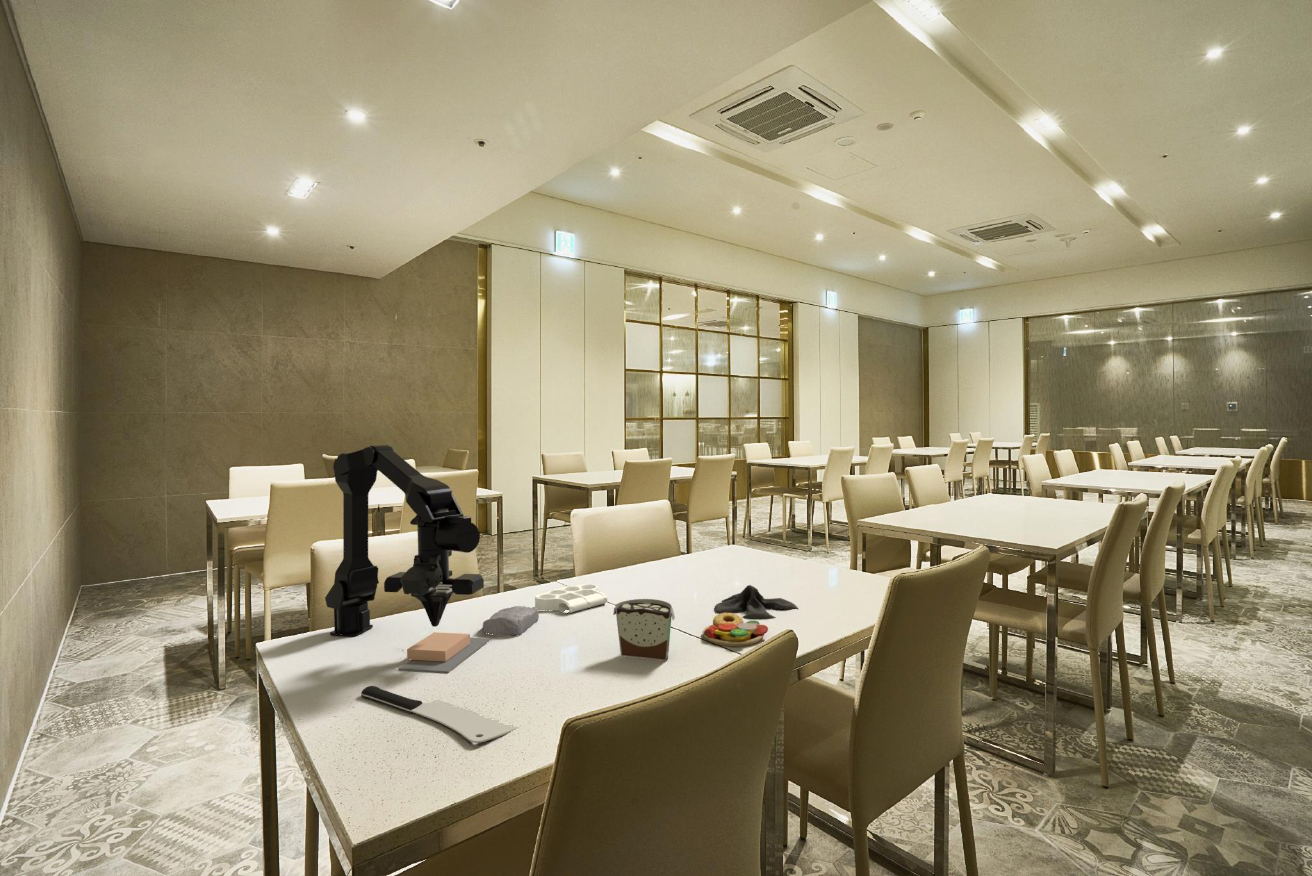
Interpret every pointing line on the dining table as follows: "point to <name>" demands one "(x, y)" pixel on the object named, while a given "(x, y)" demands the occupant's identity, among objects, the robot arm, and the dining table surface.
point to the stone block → (511, 621)
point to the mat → (449, 664)
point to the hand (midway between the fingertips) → (435, 626)
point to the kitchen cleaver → (443, 715)
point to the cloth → (752, 604)
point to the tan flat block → (438, 647)
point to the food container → (644, 628)
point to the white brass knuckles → (570, 598)
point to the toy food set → (734, 631)
